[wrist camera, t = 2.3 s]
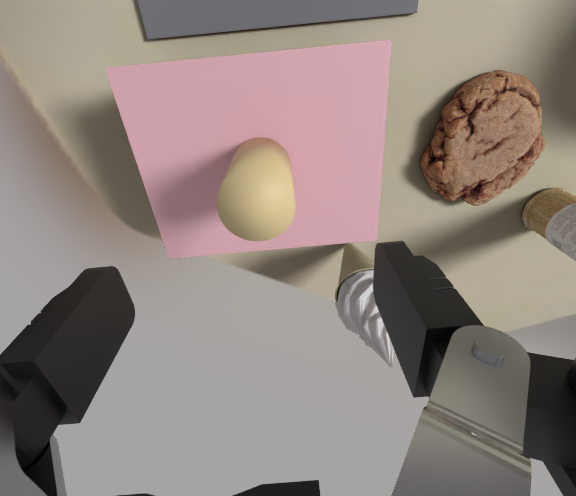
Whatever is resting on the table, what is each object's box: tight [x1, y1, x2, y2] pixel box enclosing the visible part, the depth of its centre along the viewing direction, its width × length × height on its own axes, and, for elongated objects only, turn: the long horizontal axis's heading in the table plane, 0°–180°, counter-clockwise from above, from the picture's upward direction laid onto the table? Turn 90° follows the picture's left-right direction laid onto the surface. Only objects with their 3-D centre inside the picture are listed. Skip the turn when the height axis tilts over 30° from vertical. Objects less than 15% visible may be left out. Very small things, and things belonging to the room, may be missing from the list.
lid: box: [105, 40, 392, 258], centre depth 18 cm, size 12×15×8 cm
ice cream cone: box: [335, 243, 394, 367], centre depth 26 cm, size 5×5×15 cm
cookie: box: [420, 70, 545, 206], centre depth 26 cm, size 10×11×3 cm
